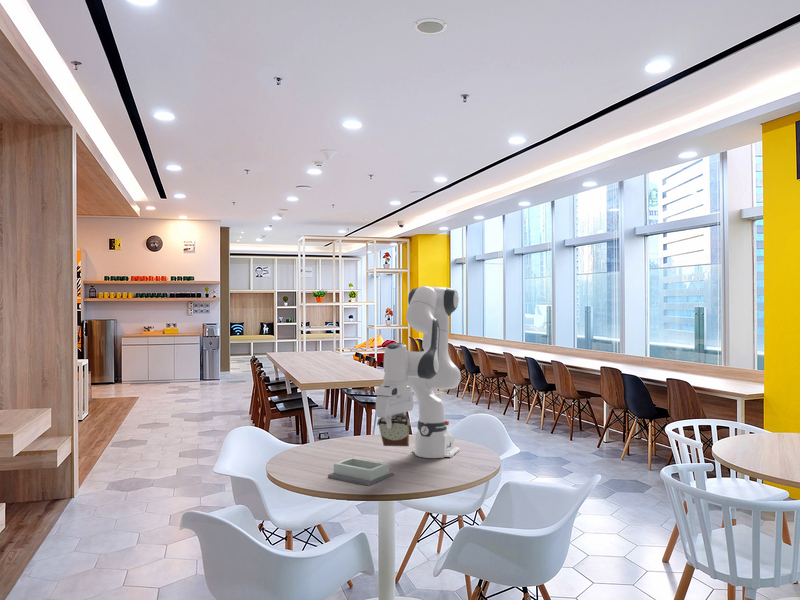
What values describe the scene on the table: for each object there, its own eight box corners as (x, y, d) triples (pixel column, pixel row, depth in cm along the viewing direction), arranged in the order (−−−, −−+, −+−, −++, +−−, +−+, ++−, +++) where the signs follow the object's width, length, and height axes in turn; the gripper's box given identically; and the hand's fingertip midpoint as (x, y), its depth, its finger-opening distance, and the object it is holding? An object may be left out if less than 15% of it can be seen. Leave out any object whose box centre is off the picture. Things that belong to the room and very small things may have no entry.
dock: (355, 467, 211) (355, 455, 211) (393, 474, 201) (393, 462, 201) (328, 477, 197) (328, 464, 197) (368, 485, 187) (368, 472, 188)
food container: (416, 438, 198) (413, 413, 196) (412, 446, 193) (409, 420, 191) (384, 438, 202) (381, 413, 200) (379, 445, 196) (376, 420, 194)
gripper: (403, 384, 206) (403, 421, 206) (372, 390, 189) (372, 430, 188) (417, 385, 203) (417, 422, 202) (387, 391, 185) (387, 432, 185)
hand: (395, 426), depth 195 cm, fingers closed on food container, 6 cm apart
